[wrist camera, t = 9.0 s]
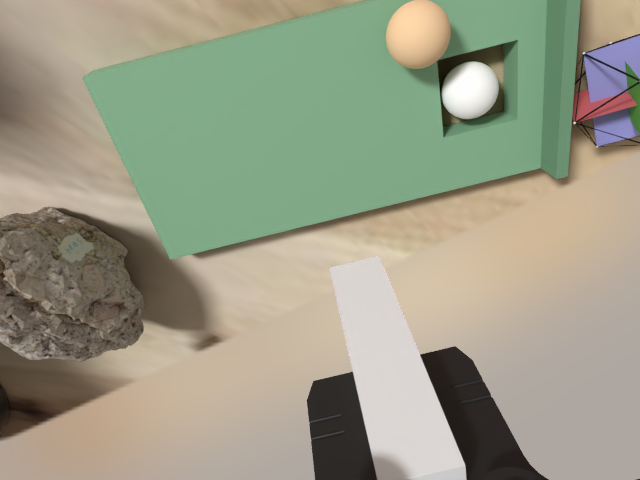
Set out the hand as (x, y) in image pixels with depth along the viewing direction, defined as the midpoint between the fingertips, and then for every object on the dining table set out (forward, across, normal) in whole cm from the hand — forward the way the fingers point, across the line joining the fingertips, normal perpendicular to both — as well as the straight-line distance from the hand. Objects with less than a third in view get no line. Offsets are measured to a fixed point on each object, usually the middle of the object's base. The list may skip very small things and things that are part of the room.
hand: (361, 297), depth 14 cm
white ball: (+18, +10, 0) cm, 21 cm away
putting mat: (+20, +2, 0) cm, 20 cm away
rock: (+20, -19, -6) cm, 28 cm away
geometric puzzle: (+20, +20, -2) cm, 28 cm away
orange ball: (+16, +7, +4) cm, 18 cm away
